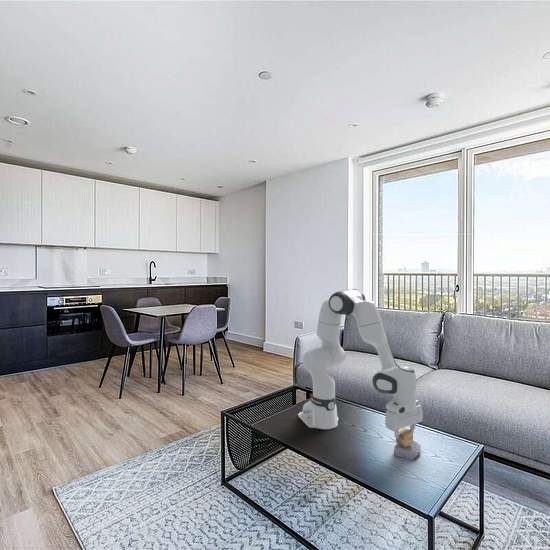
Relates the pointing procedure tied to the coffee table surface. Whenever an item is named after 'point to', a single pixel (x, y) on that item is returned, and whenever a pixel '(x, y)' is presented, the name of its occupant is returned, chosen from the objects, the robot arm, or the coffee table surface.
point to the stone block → (407, 450)
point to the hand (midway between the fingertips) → (404, 435)
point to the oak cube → (405, 437)
